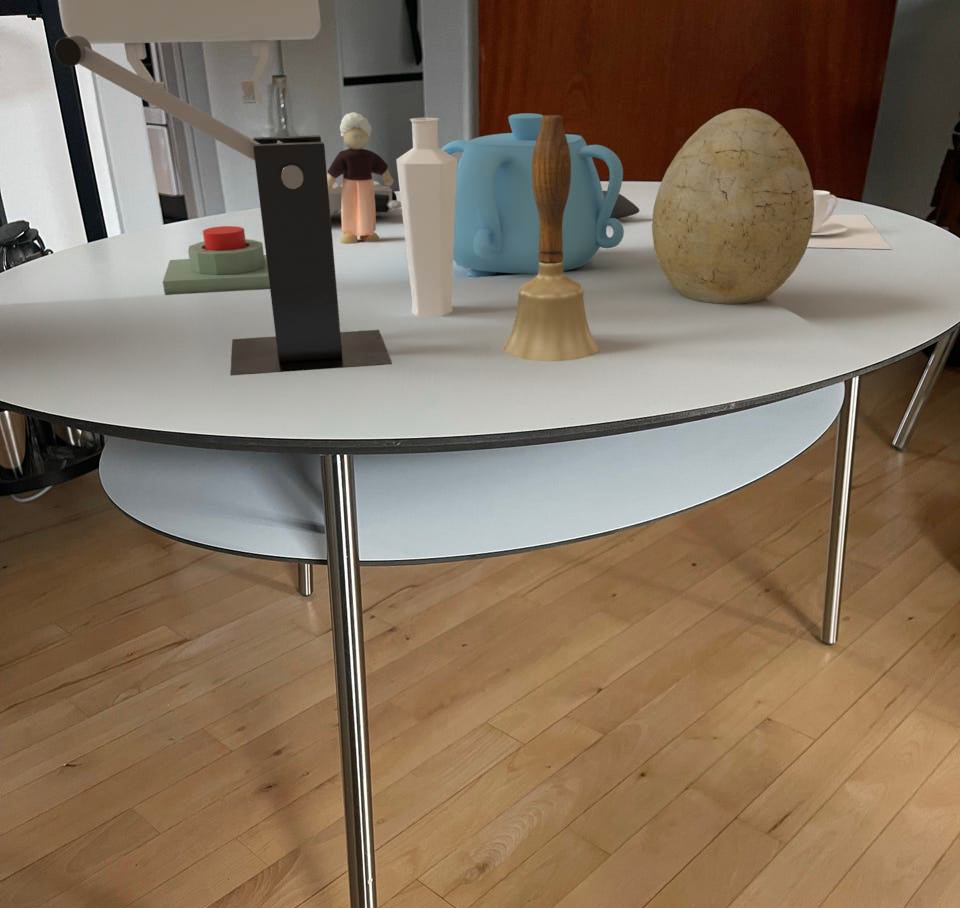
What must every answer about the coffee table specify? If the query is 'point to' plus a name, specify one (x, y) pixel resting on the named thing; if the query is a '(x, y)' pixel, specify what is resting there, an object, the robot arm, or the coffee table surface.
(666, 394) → the coffee table surface
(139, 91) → the lever
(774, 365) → the coffee table surface
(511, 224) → the decorative pot
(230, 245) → the button
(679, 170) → the fossilized egg
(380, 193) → the robot toy
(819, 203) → the teacup and saucer
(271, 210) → the bracket
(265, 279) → the control block
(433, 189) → the white faceted vase
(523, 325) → the hand bell
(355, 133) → the grandmother figurine
